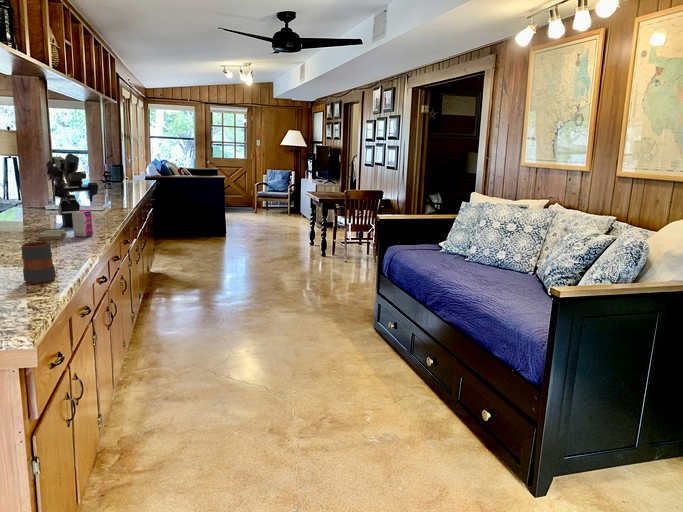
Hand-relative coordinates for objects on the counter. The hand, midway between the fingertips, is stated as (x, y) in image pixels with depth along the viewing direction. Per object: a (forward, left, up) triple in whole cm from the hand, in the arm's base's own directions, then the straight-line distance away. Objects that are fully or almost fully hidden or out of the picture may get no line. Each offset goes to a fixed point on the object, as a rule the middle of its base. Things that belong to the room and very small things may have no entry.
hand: (81, 202), depth 241 cm
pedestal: (-5, -14, -15) cm, 21 cm away
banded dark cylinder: (+42, -76, -15) cm, 89 cm away
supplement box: (+5, -7, -15) cm, 17 cm away
